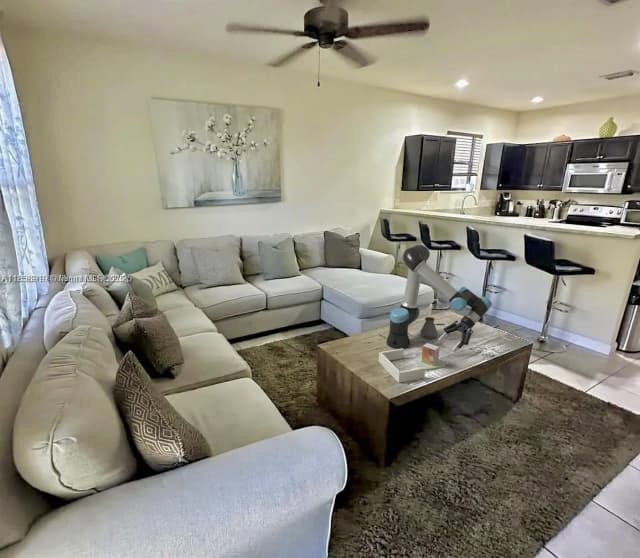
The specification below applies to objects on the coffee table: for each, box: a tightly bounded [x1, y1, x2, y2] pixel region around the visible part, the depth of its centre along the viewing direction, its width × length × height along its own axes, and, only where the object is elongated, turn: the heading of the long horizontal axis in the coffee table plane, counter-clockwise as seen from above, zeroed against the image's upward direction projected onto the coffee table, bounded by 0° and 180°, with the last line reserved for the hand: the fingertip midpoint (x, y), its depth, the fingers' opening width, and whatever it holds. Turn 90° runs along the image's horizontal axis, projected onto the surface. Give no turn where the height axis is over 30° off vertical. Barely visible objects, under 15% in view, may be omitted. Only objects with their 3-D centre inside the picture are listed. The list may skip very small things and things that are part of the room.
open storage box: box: [378, 348, 426, 384], centre depth 203 cm, size 24×16×6 cm, turn 17°
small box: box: [421, 342, 441, 366], centre depth 208 cm, size 8×6×10 cm
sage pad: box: [413, 357, 447, 372], centre depth 209 cm, size 12×14×1 cm
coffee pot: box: [419, 316, 446, 339], centre depth 239 cm, size 21×12×15 cm, turn 20°
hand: (446, 346), depth 210 cm, fingers open, 13 cm apart
